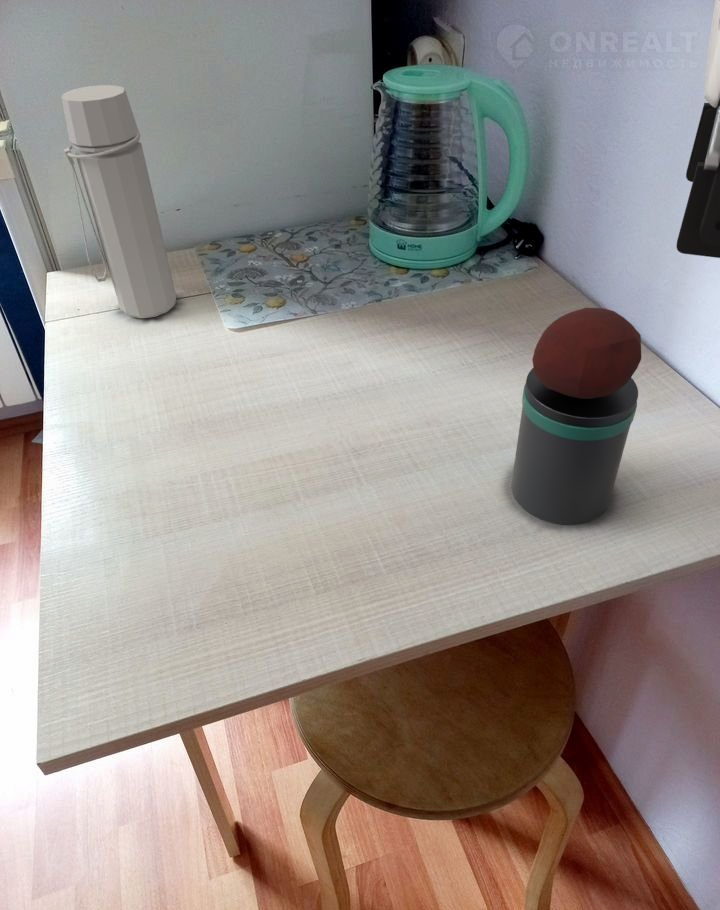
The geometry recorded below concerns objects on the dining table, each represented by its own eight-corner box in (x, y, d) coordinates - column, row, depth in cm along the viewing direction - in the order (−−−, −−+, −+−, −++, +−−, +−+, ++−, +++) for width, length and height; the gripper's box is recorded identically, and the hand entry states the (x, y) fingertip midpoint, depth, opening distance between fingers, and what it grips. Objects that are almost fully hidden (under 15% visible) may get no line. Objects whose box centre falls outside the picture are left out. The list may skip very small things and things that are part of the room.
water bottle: (170, 287, 94) (122, 80, 78) (185, 313, 88) (137, 96, 72) (100, 304, 91) (34, 92, 75) (111, 332, 86) (43, 110, 69)
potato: (657, 402, 53) (678, 332, 49) (558, 426, 51) (571, 355, 47) (602, 352, 58) (617, 285, 54) (511, 372, 56) (519, 305, 52)
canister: (616, 470, 64) (644, 365, 56) (604, 536, 58) (634, 429, 50) (521, 449, 66) (536, 347, 59) (500, 511, 60) (514, 405, 53)
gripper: (1056, -294, 18) (806, 304, 29) (927, -244, 30) (785, 166, 41) (738, -266, 20) (618, 279, 32) (736, -230, 32) (650, 155, 44)
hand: (713, 214), depth 36 cm, fingers open, 9 cm apart
